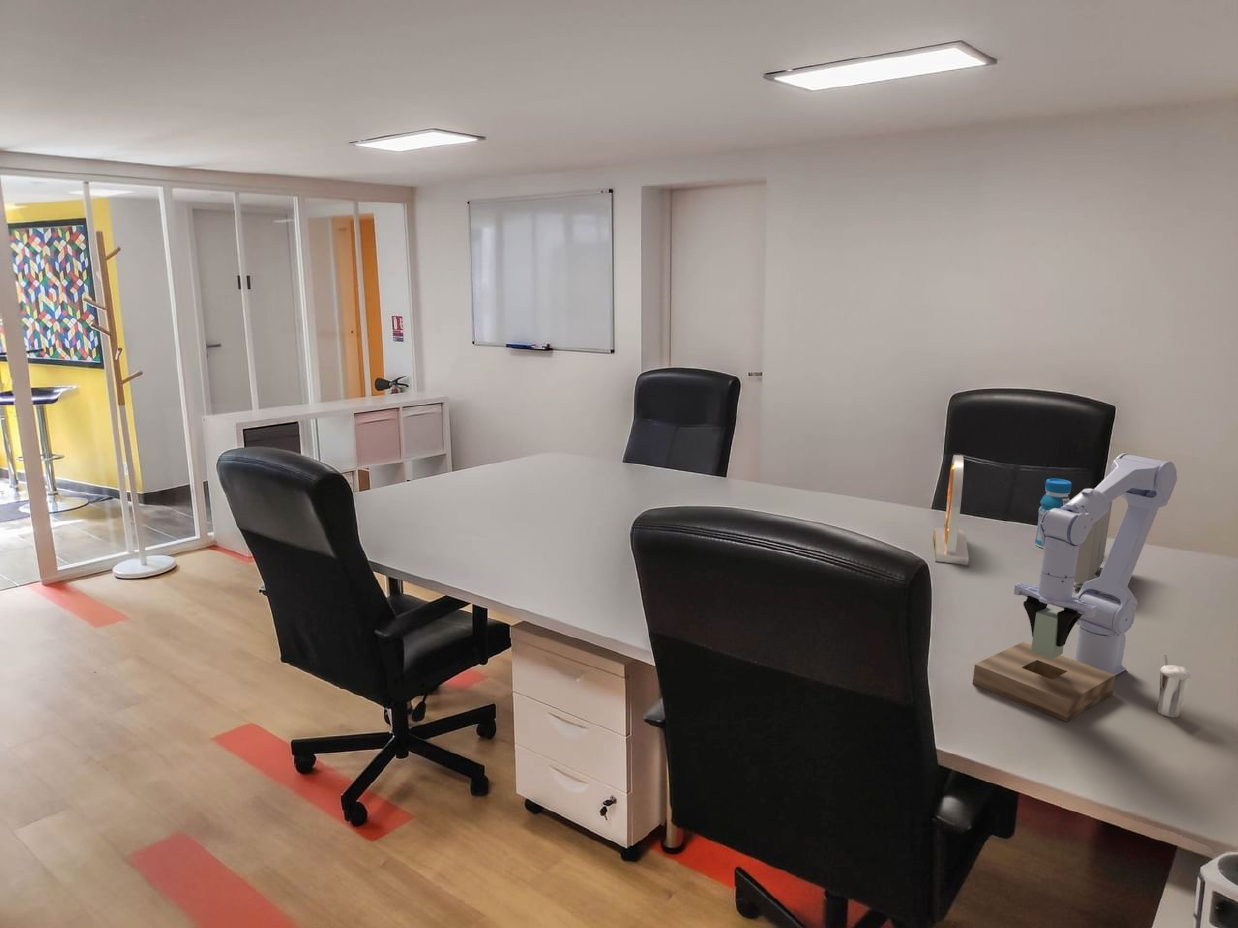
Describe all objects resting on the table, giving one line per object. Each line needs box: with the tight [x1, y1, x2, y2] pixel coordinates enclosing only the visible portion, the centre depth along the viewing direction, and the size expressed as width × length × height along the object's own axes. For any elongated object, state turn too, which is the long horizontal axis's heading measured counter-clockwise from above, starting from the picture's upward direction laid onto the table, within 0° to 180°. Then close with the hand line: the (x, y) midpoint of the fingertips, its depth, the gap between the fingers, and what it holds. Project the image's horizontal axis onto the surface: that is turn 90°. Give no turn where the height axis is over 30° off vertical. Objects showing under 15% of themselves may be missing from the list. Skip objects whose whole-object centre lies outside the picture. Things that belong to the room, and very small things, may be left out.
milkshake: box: [1157, 654, 1191, 719], centre depth 155 cm, size 4×5×10 cm
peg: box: [1031, 607, 1065, 659], centre depth 161 cm, size 4×4×8 cm
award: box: [932, 454, 970, 566], centre depth 245 cm, size 28×9×28 cm, turn 161°
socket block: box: [972, 641, 1116, 723], centre depth 163 cm, size 18×18×4 cm
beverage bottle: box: [1034, 478, 1073, 550], centre depth 250 cm, size 8×8×20 cm
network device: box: [1073, 501, 1113, 589], centre depth 224 cm, size 26×9×20 cm, turn 143°
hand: (1048, 640), depth 162 cm, fingers closed on peg, 4 cm apart
